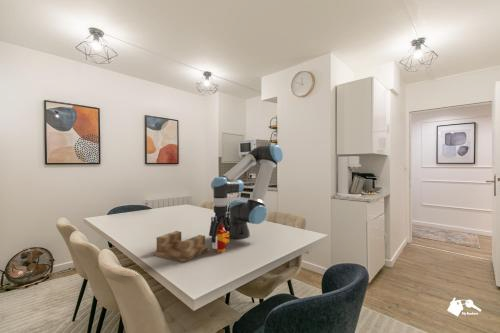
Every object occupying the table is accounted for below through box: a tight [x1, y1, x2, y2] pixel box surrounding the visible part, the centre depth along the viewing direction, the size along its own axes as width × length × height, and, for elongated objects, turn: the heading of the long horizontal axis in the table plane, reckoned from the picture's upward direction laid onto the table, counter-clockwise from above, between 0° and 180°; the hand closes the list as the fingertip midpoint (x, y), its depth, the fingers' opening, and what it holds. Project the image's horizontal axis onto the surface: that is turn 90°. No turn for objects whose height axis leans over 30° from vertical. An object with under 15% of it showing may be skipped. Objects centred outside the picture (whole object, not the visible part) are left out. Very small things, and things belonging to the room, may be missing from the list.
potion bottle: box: [211, 222, 231, 253], centre depth 131 cm, size 10×10×15 cm
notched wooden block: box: [152, 230, 209, 264], centre depth 128 cm, size 18×22×9 cm
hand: (220, 245), depth 131 cm, fingers closed on potion bottle, 10 cm apart
